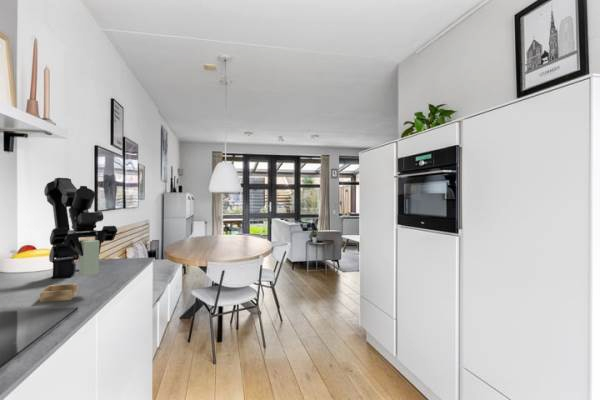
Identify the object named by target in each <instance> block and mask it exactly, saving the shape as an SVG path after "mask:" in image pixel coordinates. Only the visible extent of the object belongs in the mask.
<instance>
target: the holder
mask: <svg viewBox="0 0 600 400" xmlns="http://www.w3.org/2000/svg"><path fill="white" fill-rule="evenodd" d="M77 293H78V283H69V284H68V283H67V284H66V283H65V284H53V285H48V286H46V287H45V288H44V289H43V290H41V291H40V293H39V302H40V303H48V302H61V301H70V300H72V299H74V297H75V296H76V295H77Z"/></svg>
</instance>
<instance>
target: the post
mask: <svg viewBox="0 0 600 400" xmlns="http://www.w3.org/2000/svg"><path fill="white" fill-rule="evenodd" d="M79 242H80V244H81V247H82V250H83V256H80V258H79V259H78V261H79V264H78V265H79V266H78V268H79V269H78V274H80V275H81V276H83V277H85V276H92V275H99V270H100V253H99V241H98V240H95V239H85V240H79Z"/></svg>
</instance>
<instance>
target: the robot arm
mask: <svg viewBox="0 0 600 400" xmlns="http://www.w3.org/2000/svg"><path fill="white" fill-rule="evenodd" d="M43 192H44V196H45V197H46V202H47V203H48V204H50V205H51V206H52V211H53V218H54V228H52V230H51V233H50V236H49V244H50V245H51V246H52V247H51V249H50V252H49V256H48V258H49V262H50V263H52V276H51V277H50V279H58V278H59V279H61V278H63V279H64V278H72V277H73V276H74V275H75V274H76V268H77V267H76V266H77V263H76V262H75V261H79V259H78V258H79V255H80V256H83V250H82V247H81V244H80V239H85V238H86V239H87V238H94V240H98V241H99V254H100V253H101V246H102V244H103V243H104V242H110V241H113V240H114V239H115V237H116V235H117V233H118V228H117V226H116V225H103V227H102V229H101V230H97V229H96V228H97V223H99V222H102V221H103V220H104V214H103V211H101V210H100V211H95V212H94V211H89V210H90V209H91V208H92V206H93V203H94V201H95V198H96V192H95V191H94V190H92V189H91V188H89V187H87V185H80V186H79V188H77V187H76V186H75V185H74V184H73V183H72V179H71V178H69V177H55V178H54V180H52V181H50V182H48V183H47V184H46V185H45V186H44V191H43ZM68 215H69V216H68ZM69 218H70V222H71V228H70V222H69Z"/></svg>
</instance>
